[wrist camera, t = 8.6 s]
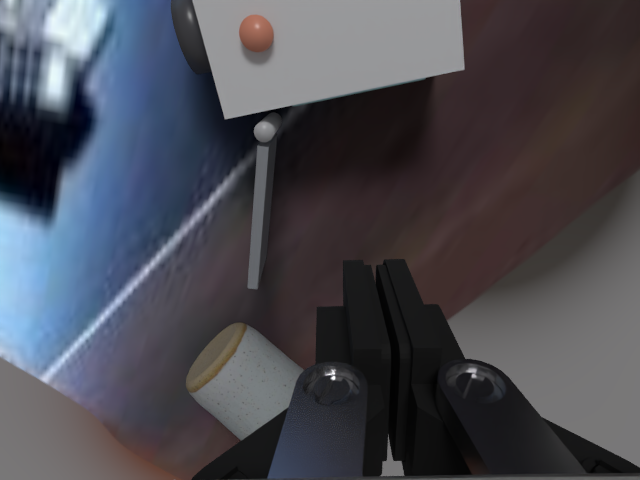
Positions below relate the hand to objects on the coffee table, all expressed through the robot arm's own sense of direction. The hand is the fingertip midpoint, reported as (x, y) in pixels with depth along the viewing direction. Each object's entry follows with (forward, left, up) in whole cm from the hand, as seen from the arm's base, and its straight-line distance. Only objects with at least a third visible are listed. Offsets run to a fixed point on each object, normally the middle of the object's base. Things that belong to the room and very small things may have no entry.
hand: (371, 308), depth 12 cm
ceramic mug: (+12, +18, -22) cm, 31 cm away
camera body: (-1, -9, -22) cm, 24 cm away
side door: (+6, +1, -22) cm, 23 cm away
